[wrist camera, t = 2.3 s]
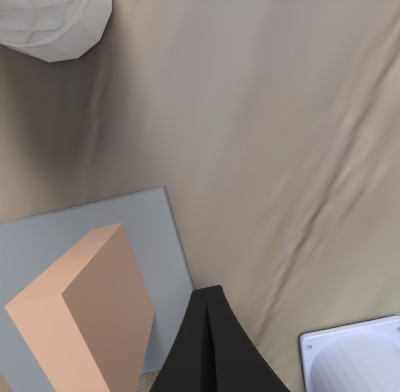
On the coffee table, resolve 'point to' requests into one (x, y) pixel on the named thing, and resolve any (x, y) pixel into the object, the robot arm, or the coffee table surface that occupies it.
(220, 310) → the robot arm
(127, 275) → the block
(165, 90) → the coffee table surface
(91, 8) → the white cup
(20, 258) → the felt mat
